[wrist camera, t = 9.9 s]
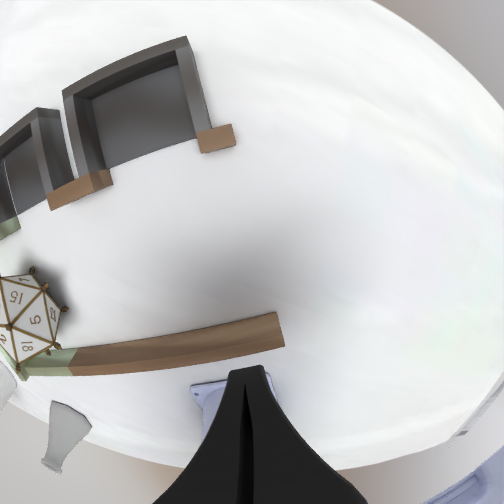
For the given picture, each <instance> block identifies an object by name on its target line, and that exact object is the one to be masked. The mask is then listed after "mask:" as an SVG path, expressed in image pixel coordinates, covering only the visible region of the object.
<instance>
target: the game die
mask: <svg viewBox="0 0 504 504" xmlns="http://www.w3.org/2000/svg"><path fill="white" fill-rule="evenodd" d="M34 271H35V270H34V266H33V267H32V268H30V271H29V272H30V274H27V275H17V276H7V277H1V276H0V346H1V347H2V348H3V349H4V350H5V351H6V352H7V353H8V355H9V356H10V357H11V358H12V359H13V360H14V361H15V362H16V366H15V367H16V372H17V374H18V373H19V372H20V371H21V370H20V368H21V367H20V364H21V363H23V362H25V361H27V360H29V359H31V358H33V357H35V356H37V355H39V354H41V353H43V352H46V354H47V355H49V356H51V352H50V351H49V348H51V347H52V346H53V345H54V347H55V348H56V349H57V350H62V348H61V346H60V344H58V342H57V343H56V342H55V341H56V335H57V329H58V324H59V319H60V314H61V312H66V311H67V310H68V309H69V308H67V307H65V306H64V307H62V308H60V307H59V306H58V305H57V304H56V303H55V302H54V300H53V299H52V298H51V297H50V296H49V295H48V293H47V292H46V291H45V290H47V289H49V287H48V283H44V284H43V286H41V285H40V284H39V283H38V281H37V280H36V279H35V277H34V276H33V274H34Z"/></svg>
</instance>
